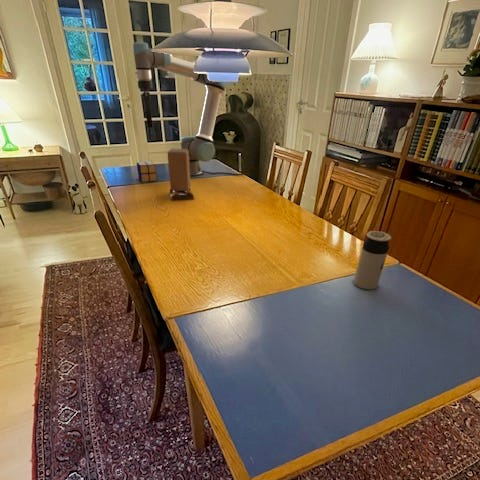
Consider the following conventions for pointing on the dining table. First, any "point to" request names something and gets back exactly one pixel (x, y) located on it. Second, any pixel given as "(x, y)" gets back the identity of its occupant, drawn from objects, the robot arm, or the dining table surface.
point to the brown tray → (181, 195)
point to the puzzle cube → (147, 171)
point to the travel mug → (372, 259)
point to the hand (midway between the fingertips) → (149, 125)
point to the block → (179, 169)
